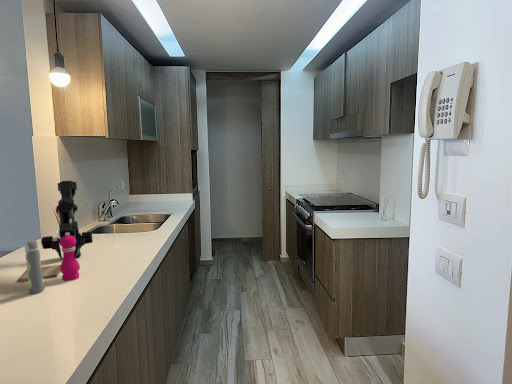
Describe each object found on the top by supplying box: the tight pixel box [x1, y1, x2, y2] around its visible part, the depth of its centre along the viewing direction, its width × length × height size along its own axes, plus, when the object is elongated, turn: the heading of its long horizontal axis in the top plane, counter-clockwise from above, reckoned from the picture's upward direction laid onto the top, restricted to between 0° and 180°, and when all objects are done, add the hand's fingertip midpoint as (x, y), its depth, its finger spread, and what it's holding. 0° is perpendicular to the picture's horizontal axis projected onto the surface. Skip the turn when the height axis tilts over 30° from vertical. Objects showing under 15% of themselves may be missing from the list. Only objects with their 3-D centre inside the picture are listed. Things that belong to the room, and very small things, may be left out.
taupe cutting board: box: [17, 264, 61, 283], centre depth 143 cm, size 14×14×1 cm
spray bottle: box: [24, 239, 45, 295], centre depth 124 cm, size 5×5×20 cm
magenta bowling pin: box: [59, 232, 81, 282], centre depth 136 cm, size 7×7×20 cm
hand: (68, 257), depth 135 cm, fingers closed on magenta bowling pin, 5 cm apart
